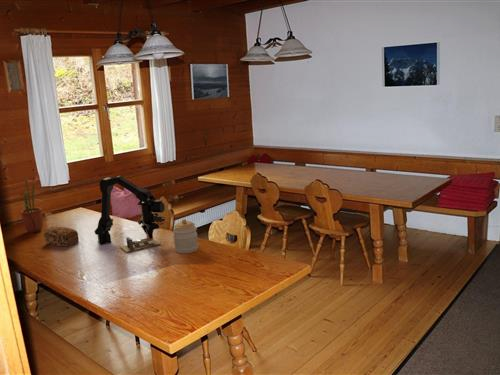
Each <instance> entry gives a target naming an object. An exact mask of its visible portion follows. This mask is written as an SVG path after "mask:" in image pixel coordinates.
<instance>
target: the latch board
mask: <svg viewBox="0 0 500 375" xmlns="http://www.w3.org/2000/svg"><path fill="white" fill-rule="evenodd" d="M125 238H126V240H125V241H126V245H121V246H120V249H121V250H122V251H123V252H124V253H126V254H130V253H134V252H138V251H141V250H147V249H150V248H154V247H155V248H156V247H159V246H161V245H162V244H161V242H159V241H158V240H156V239H154V238H153V240H152V241H147V242H143V243H139V244H135V245H133V241H134V240H133V238H131V237H129V236H127V237H125ZM129 243H130V244H129Z"/></svg>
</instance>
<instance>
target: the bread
mask: <svg viewBox="0 0 500 375" xmlns="http://www.w3.org/2000/svg"><path fill="white" fill-rule="evenodd" d="M43 237H44V241H45V243H46V244H47V245H52V246H58V247H69V246H72V245H75V244H77V243H78V242H79V239H80V238H79V233H78V231H77V230H76V229H73V228H70V227H67V226H50V227H48V228H46V229H45V230H44V231H43Z"/></svg>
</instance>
